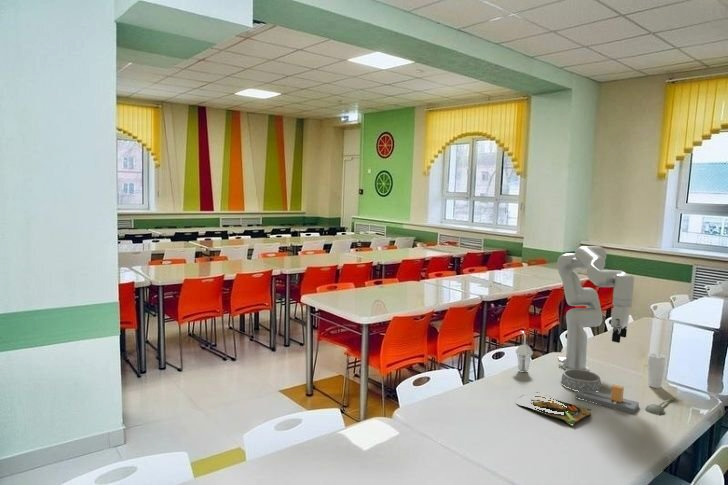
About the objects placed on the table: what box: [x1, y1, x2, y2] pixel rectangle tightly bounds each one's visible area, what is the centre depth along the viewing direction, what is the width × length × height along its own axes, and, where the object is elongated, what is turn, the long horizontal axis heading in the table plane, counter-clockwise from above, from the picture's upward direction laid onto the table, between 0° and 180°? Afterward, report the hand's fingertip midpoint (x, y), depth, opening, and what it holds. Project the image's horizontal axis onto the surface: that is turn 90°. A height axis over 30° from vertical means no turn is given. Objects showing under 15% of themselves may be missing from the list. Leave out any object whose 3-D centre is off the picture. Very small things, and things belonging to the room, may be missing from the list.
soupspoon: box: [645, 397, 675, 416], centre depth 212 cm, size 22×3×7 cm
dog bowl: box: [560, 369, 602, 392], centre depth 235 cm, size 17×18×5 cm
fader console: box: [575, 388, 640, 414], centre depth 215 cm, size 23×9×2 cm, turn 50°
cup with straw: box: [514, 330, 534, 372], centre depth 252 cm, size 8×9×20 cm
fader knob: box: [610, 384, 625, 402], centre depth 212 cm, size 4×3×6 cm
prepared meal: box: [520, 391, 592, 425], centre depth 208 cm, size 28×4×18 cm
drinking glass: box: [647, 352, 666, 389], centre depth 233 cm, size 7×7×15 cm
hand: (619, 339), depth 221 cm, fingers open, 9 cm apart
